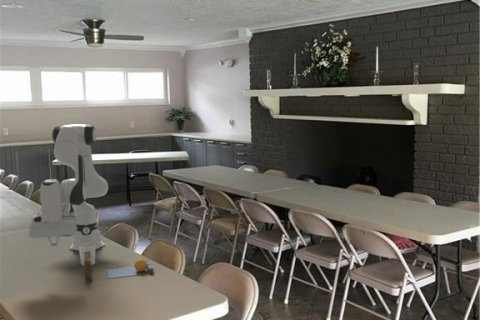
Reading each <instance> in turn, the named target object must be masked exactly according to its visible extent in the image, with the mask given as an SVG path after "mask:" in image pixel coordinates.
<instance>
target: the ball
mask: <svg viewBox="0 0 480 320" xmlns="http://www.w3.org/2000/svg"><path fill="white" fill-rule="evenodd" d="M146 260H147V259H144V258H138V259H136V260H135V262H134V266H133V267H135V270H136V272H137V271H138V272H143V271H146V269H147V262H146Z"/></svg>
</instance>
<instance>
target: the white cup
mask: <svg viewBox="0 0 480 320" xmlns="http://www.w3.org/2000/svg"><path fill="white" fill-rule="evenodd" d="M89 251H91V266H93V265H95V264H96V249H95V243H93V242H86V243H81V244H79V251H78V252H79V259H80V265H81V266H84V252H89Z"/></svg>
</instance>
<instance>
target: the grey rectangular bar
mask: <svg viewBox="0 0 480 320" xmlns="http://www.w3.org/2000/svg"><path fill="white" fill-rule="evenodd" d="M145 260H146V262H147V268H146V269H147V272H148V275H154V273H155V272H154V267H153V265H152V262H151V259H145Z"/></svg>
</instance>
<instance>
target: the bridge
mask: <svg viewBox="0 0 480 320" xmlns="http://www.w3.org/2000/svg"><path fill="white" fill-rule="evenodd" d="M83 268H84V279H85V280H84V282H85V283H91V282H90V281H92V282H93V269H92V265H91V251H89V252H84V267H83Z"/></svg>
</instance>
